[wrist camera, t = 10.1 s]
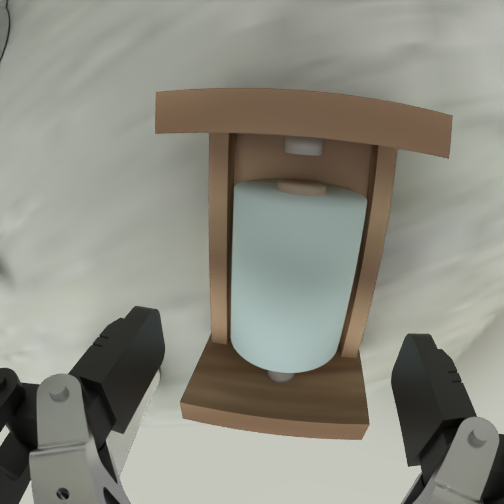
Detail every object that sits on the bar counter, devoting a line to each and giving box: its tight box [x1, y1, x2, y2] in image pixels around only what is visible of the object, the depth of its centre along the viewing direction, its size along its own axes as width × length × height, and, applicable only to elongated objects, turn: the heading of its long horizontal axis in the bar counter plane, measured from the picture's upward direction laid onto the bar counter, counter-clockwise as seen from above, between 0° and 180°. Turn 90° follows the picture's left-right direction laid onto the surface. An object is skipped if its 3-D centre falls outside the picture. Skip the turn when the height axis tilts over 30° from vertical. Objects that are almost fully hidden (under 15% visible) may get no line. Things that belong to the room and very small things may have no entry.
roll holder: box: [155, 88, 452, 440], centre depth 15 cm, size 16×10×8 cm, turn 178°
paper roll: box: [231, 179, 367, 373], centre depth 15 cm, size 9×6×6 cm
